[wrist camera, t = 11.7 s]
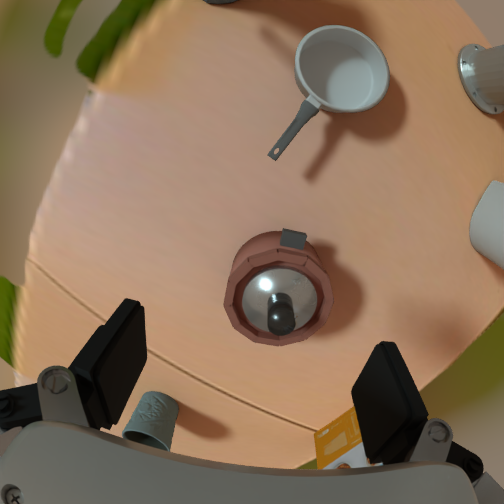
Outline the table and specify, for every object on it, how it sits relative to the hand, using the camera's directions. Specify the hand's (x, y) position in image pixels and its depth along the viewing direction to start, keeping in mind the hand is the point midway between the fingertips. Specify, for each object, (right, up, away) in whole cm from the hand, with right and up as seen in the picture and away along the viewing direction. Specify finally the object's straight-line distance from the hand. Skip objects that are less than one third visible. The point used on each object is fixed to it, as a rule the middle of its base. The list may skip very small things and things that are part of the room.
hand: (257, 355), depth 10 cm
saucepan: (+8, +24, +22) cm, 33 cm away
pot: (+3, +1, +31) cm, 31 cm away
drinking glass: (-21, -29, +44) cm, 57 cm away
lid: (+3, -2, +24) cm, 25 cm away
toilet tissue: (+41, +9, +26) cm, 50 cm away
